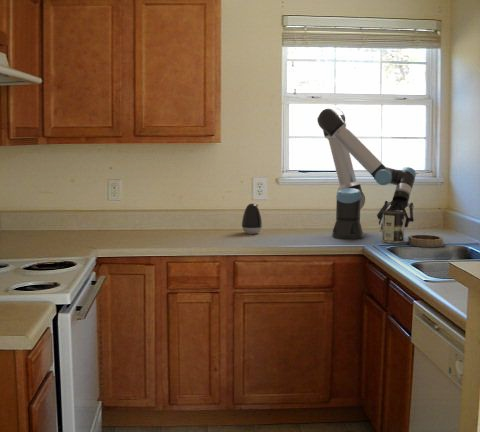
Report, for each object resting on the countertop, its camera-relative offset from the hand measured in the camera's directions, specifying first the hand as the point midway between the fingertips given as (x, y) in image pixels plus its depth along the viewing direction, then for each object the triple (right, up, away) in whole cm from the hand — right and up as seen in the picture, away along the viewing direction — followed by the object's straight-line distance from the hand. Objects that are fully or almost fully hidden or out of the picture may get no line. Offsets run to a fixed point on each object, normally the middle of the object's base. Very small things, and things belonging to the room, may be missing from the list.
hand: (391, 230), depth 315 cm
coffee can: (+1, -5, +3) cm, 6 cm away
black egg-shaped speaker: (-65, -2, +24) cm, 69 cm away
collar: (+15, -6, -4) cm, 17 cm away
